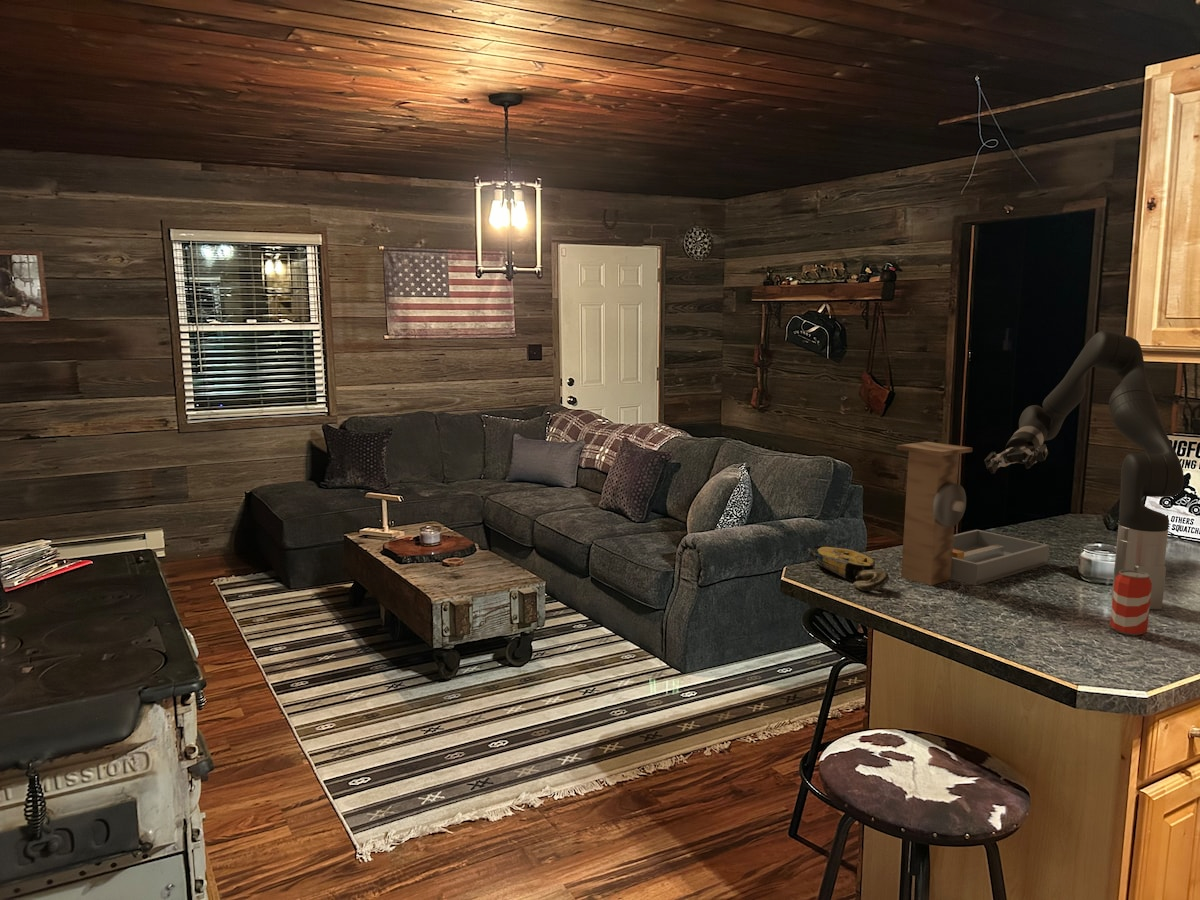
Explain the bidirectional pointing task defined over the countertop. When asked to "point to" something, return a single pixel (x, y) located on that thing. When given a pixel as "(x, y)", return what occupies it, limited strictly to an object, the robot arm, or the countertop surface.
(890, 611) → the countertop surface
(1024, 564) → the tray
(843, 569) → the pulley block
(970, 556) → the pin
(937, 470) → the bracket
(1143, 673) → the countertop surface
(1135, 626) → the beverage can
